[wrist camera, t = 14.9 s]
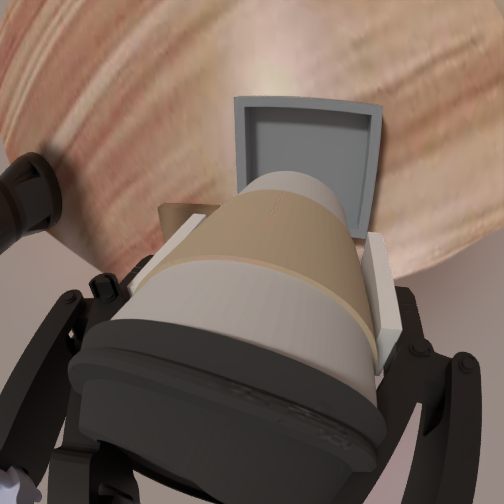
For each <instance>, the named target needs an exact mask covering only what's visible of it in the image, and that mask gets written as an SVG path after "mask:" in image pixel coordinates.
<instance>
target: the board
mask: <svg viewBox="0 0 504 504" xmlns="http://www.w3.org/2000/svg"><path fill="white" fill-rule="evenodd" d="M219 207H220V205H205V204H181V203H163V204H161V205H160V206H159V207H158V213H159V218H160V223H161V228H162V233H163V237H164V242H165V243H166V242H167V241H168V240H169V239H170V238H171V237H172V236H173V235H174V234H175V233H176V232H177V230H178V229H179V228H180V227H181V226H182V225H183V224H184V223H185V222H186V221H187V220H188V219H189V218H190V217H191V216H192V215H193V214H205V215H206V218H208V217H209V216H210V215H211V214H212V213H213V212H214V211H216V210H217V209H218V208H219Z"/></svg>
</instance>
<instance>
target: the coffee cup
mask: <svg viewBox="0 0 504 504" xmlns="http://www.w3.org/2000/svg"><path fill="white" fill-rule="evenodd" d="M377 362H378V355H377V347H376V341H375V335H374V329H373V324H372V319H371V313H370V308H369V303H368V298H367V294H366V289H365V284H364V280H363V276H362V271H361V267H360V263H359V259H358V255H357V251H356V247H355V244H354V242H353V240H352V238H351V236H350V232H349V228H348V224H347V220H346V216H345V212H344V209H343V207H342V205H341V203H340V201H339V200H338V198H337V197H336V195H335V194H334V193H333V192H332V191H331V190H330V189H329V188H328V187H327V186H326V185H325V184H323V183H322V182H321V181H319V180H317V179H315V178H313V177H311V176H309V175H306V174H303V173H299V172H294V171H277V172H272V173H268V174H265V175H263V176H260V177H259V178H257V179H255V180H254V181H252V182H251V183H250V184H249V185H248V186H247V187H245V188H244V189H243V190H242V191H241V192H240V193H239V194H238V195H237V196H235V197H234V198H232V199H230V200H228V201H227V202H225V203H224V204H222V205H221V206H220V207H219V208H218V209H217V210H216V211H214V212H213V213H212V214H211V215H210V216H209V217H208V218H207V219H206V220H204V221H203V222H202V223H201V224H200V225H199V226H198V227H197V228H196V229H195V230H194V231H192V232H191V233H190V234H189V235H188V236H187V237H186V238H185V239H184V240H183V241H182V242H181V243H180V244H178V245H177V246H176V247H175V248H174V249H173V250H172V251H171V252H170V253H169V254H168V255H167V256H166V257H165V258H164V259H163V260H162V261H161V262H160V263H159V264H158V265H156V266H155V267H154V268H153V269H152V270H151V271H150V272H149V273H148V274H147V275H146V276H145V277H144V278H143V279H142V281H141V282H140V283H139V285H138V286H137V288H136V290H135V292H134V295H133V296H132V298H131V299H130V300H129V301H128V302H127V303H126V304H125V305H124V306H123V307H122V308H121V309H120V310H119V311H118V312H117V313H116V314H115V315H114V317H113V318H112V319H111V320H109V321H105V322H101V323H99V324H97V325H95V326H93V327H92V328H91V329H90V330H88V332H87V333H86V334H85V336H84V339H83V343H82V348H81V351H80V352H78V353H77V354H76V355H75V356H74V357H73V358H72V359H71V360H70V362H69V364H68V377H69V381H70V383H71V385H72V387H73V389H74V391H75V392H77V393H78V394H80V395H82V400H81V409H80V418H79V430H80V432H81V433H82V434H84V435H86V436H87V437H89V438H91V439H93V440H94V441H96V442H98V440H103V441H106V442H109V443H112V444H114V445H115V446H116V447H118V448H119V449H120V450H121V451H122V452H124V453H125V454H126V455H127V456H129V457H130V458H131V461H132V464H133V470H134V471H136V472H139V473H140V474H142V475H144V476H146V477H148V478H150V479H152V480H154V481H156V482H158V483H160V484H163V485H165V486H167V487H170V488H172V489H175V490H177V491H179V492H182V493H185V494H187V495H190V496H193V497H196V498H199V499H202V500H205V501H208V502H211V503H215V504H330V502H331V501H332V500H333V498H334V497H335V496H336V494H337V493H338V492H339V490H340V489H341V488H342V486H343V485H344V484H345V482H346V481H347V479H348V478H349V476H350V475H351V473H352V472H372V471H373V470H374V469H375V468H376V466H377V456H376V453H375V451H376V450H377V448H378V447H379V445H380V444H381V442H382V441H383V439H384V438H385V436H386V433H387V427H386V423H385V420H384V418H383V416H382V414H381V413H380V411H379V410H378V409H377V398H376V387H375V377H374V375H375V373H376V369H377Z"/></svg>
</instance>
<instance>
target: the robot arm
mask: <svg viewBox="0 0 504 504" xmlns="http://www.w3.org/2000/svg"><path fill="white" fill-rule="evenodd" d="M61 209H62V202H61V194H60V189H59V186H58V183H57V180H56V177H55V175H54V173H53V171H52V169H51V167H50V166H49V164H48V163H47V162H46V161H45V159H44V158H43V157H41V156H40V155H39V154H37V153H34V152H29V153H26V154H24V155H22V156H20V157H18V158H17V159H16V160H15V161H14V162H13V163H12V164H11V165H10V166H9V167H8V168H7V169H6V170H5V171H4V172H3V173H2V174H1V176H0V255H1V254H2V253H3V252H4V251H6V250H7V249H8V248H9V247H10V246H12V245H13V244H14V243H15V242H17V241H18V240H19V239H20V238H22V237H24V236H28V235H31V234H35V233H38V232H42V231H45V230H47V229H49V228H50V227H52V226H53V225H55V224H56V223H57V222H58V220H59V218H60V215H61ZM206 219H207V218H206V215H205V214H193V215H192V216H191V217H190V218H189V219H188V220H187V221H186V222H185V223H184V224H183V225H182V226H181V227H180V228H179V229H178V230H177V232H176V233H175V234H174V235H173V236H172V237H171V238H170V239H169V240H168V241H167V242H166V243H165V244H164V245H163V247H162V248H161V249H160V250H159V251H158V252H157V253H156V254H155V255H149V256H147V257H145V258H143V259H142V260H141V261H140V262H139V263H138V264H137V265H136V267H134V268H133V269H132V270H131V272H130V273H129V274H128V275H127V276H126V277H125V278H124V279H123V280H122V281H121V283H120V284H119V283H118V280H117V277H116V276H115V275H114V274H112V273H103V274H99V275H97V276H95V277H94V278H93V279H92V280H91V281H90V282H89V286H90V288H91V291H92V294H93V296H94V298H84V297H83V295H82V293H81V292H80V291H79V290H70V291H67V292H65V293H64V294H62V295H61V296H60V298H59V299H58V300H57V302H56V303H55V305H54V306H53V307H52V309H51V310H50V312H49V313H48V315H47V316H46V318H45V319H44V321H43V322H42V324H41V325H40V327H39V328H38V330H37V331H36V333H35V335H34V336H33V338H32V339H31V341H30V342H29V344H28V346H27V347H26V349H25V351H24V353H23V354H22V356H21V358H20V359H19V361H18V363H17V365H16V366H15V368H14V370H13V371H12V373H11V375H10V377H9V379H8V381H7V383H6V384H5V386H4V388H3V390H2V392H1V395H0V504H34V502H40V501H41V499H42V495H41V492H40V491H39V490H38V489H37V486H38V485H39V483H40V482H41V480H42V478H43V476H44V474H45V472H46V469H47V467H48V464H49V461H50V464H49V476H48V497H47V504H140V498H139V488H138V484H137V481H136V479H135V477H134V474H133V464H132V461H131V458H130V457H129V456H127V455H126V454H125V453H124V452H122V451H121V450H120V449H119V448H118V447H116V446H115V445H114V444H112V443H109V442H106V441H103V440H98V442H96V441H94V440H93V439H91V438H89V437H87V436H86V435H84V434H82V433H81V432H80V430H79V418H80V409H81V400H82V395H80V394H78V393H77V392H75V391H74V389H73V387H72V385H71V383H70V381H69V377H68V364H69V362H70V360H71V359H72V358H73V357H74V356H75V355H76V354H77V353H78V352H80V351H81V348H82V343H83V339H84V336H85V334H86V333H87V332H88V330H90V329H91V328H92V327H93V326H95V325H97V324H99V323H101V322H105V321H109V320H111V319H112V318H113V317H114V315H115V314H116V313H117V312H118V311H119V310H120V309H121V308H122V307H123V306H124V305H125V304H126V303H127V302H128V301H129V300H130V299H131V298H132V296H133V295H134V292H135V290H136V288H137V286H138V285H139V283H140V282H141V281H142V279H143V278H144V277H145V276H146V275H147V274H148V273H149V272H150V271H151V270H152V269H153V268H154V267H155V266H156V265H158V264H159V263H160V262H161V261H162V260H163V259H164V258H165V257H166V256H167V255H168V254H169V253H170V252H171V251H172V250H173V249H174V248H175V247H176V246H177V245H178V244H180V243H181V242H182V241H183V240H184V239H185V238H186V237H187V236H188V235H189V234H190V233H191V232H192V231H194V230H195V229H196V228H197V227H198V226H199V225H200V224H201V223H202V222H203V221H204V220H206ZM360 267H361V271H362V276H363V280H364V284H365V289H366V294H367V298H368V303H369V308H370V313H371V319H372V324H373V329H374V335H375V341H376V347H377V355H378V362H377V369H376V373H375V375H376V376H379V375H380V373H381V371H382V370H383V369H384V378H383V380H382V381H381V383H380V385H379V386H378V388H377V390H376V398H377V409H378V410H379V411H380V413H381V414H382V416H383V418H384V420H385V423H386V427H387V433H386V436H385V438H384V439H383V441H382V442H381V444H380V445H379V447H378V448H377V450H376V451H375V453H376V456H377V466H376V468H375V469H374V470H373V471H372V472H352V473H351V475H350V476H349V478H348V479H347V481H346V482H345V484H344V485H343V486H342V488H341V489H340V490H339V492H338V493H337V494H336V496H335V497H334V498H333V500H332V501H331V502H330V504H363V502H364V501H365V499H366V498H367V496H368V494H369V493H370V492H371V490H372V488H373V487H374V485H375V484H376V482H377V480H378V479H379V477H380V475H381V474H382V472H383V470H384V469H385V467H386V465H387V463H388V462H389V460H390V458H391V456H392V454H393V452H394V450H395V448H396V447H397V445H398V442H399V441H400V439H401V437H402V435H403V432H404V430H405V428H406V426H407V424H408V422H409V420H410V417H411V415H412V413H413V410H414V408H415V406H416V403H417V402H418V403H422V410H421V418H420V425H419V430H418V436H417V441H416V446H415V451H414V456H413V461H412V465H411V469H410V473H409V477H408V481H407V485H406V488H405V492H404V495H403V498H402V502H401V504H472V503H473V498H474V493H475V487H476V481H477V474H478V466H479V456H480V445H481V427H482V393H481V374H480V366H479V363H478V361H477V360H476V358H475V357H474V356H472V354H470V353H467V352H459V353H457V354H455V356H454V357H453V358H449V357H446V356H443V355H440V354H438V353H436V352H434V349H433V347H432V345H431V343H430V342H429V341H428V340H426V339H425V338H424V334H423V330H422V325H421V320H420V316H419V313H418V308H417V306H416V300H415V296H414V295H413V293H412V292H411V291H410V289H409V288H407V287H398V286H394V282H393V277H392V273H391V268H390V264H389V260H388V256H387V252H386V248H385V244H384V240H383V236H382V233H375V232H367V238H366V243H365V248H364V252H363V257H362V262H361V266H360ZM71 330H72V332H73V334H74V335H73V337H72V338H70V336H69V335H68V334H69V332H70V331H71ZM65 417H66V421H65V428H64V435H63V442H62V445H61V446H60V447H59V448H56V449H54V447H55V444H56V441H57V438H58V436H59V433H60V430H61V428H62V425H63V423H64V420H65Z"/></svg>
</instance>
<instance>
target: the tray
mask: <svg viewBox="0 0 504 504" xmlns="http://www.w3.org/2000/svg"><path fill="white" fill-rule="evenodd" d="M382 111H383V106H380V105H375V104H368V103H361V102H353V101H345V100H335V99H324V98H311V97H292V96H239V97H234V114H235V141H236V165H237V188H238V194H239V193H240V192H241V191H242V190H243V189H244V188H245V187H247V186H248V185H249V184H250V183H251V182H252V181H254V180H255V179H257V178H259V177H260V176H263V175H265V174H268V173H272V172H277V171H294V172H299V173H303V174H306V175H309V176H311V177H313V178H315V179H317V180H319V181H321V182H322V183H323V184H325V185H326V186H327V187H328V188H329V189H330V190H331V191H332V192H333V193H334V194H335V195H336V197H337V198H338V200H339V201H340V203H341V205H342V207H343V209H344V212H345V216H346V220H347V224H348V228H349V232H350V236H351V237H354V238H362V239H366V235H367V230H368V224H369V219H370V213H371V207H372V201H373V194H374V187H375V180H376V173H377V165H378V156H379V147H380V137H381V125H382Z"/></svg>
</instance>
